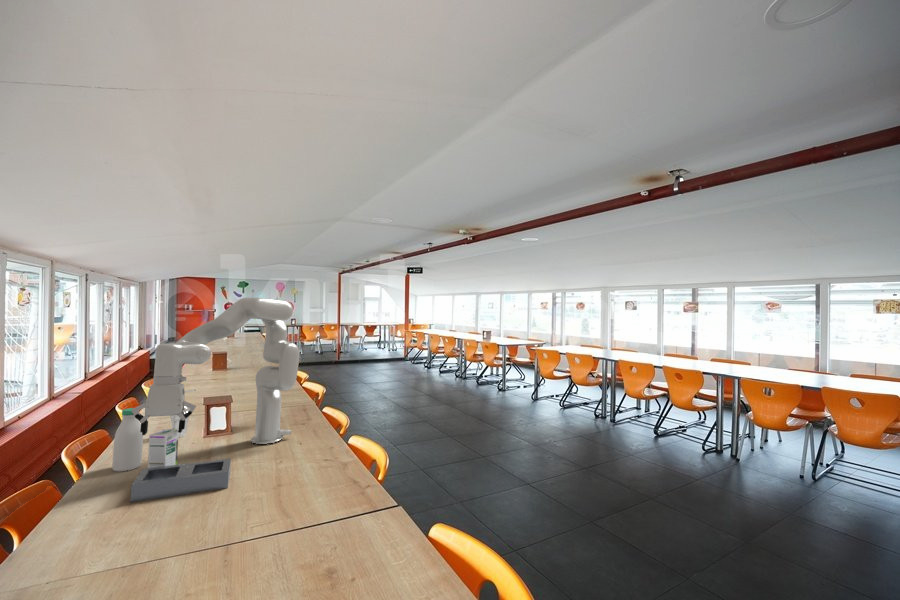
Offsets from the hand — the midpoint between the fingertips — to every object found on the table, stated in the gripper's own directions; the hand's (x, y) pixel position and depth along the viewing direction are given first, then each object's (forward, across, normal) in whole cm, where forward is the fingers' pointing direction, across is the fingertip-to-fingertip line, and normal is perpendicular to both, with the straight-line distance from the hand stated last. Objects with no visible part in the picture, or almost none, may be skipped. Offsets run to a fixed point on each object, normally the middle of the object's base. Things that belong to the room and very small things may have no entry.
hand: (162, 432), depth 127 cm
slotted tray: (+14, -9, +11) cm, 20 cm away
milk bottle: (+14, +11, -13) cm, 22 cm away
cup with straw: (+14, +1, -46) cm, 48 cm away
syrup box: (+14, -1, -1) cm, 14 cm away
